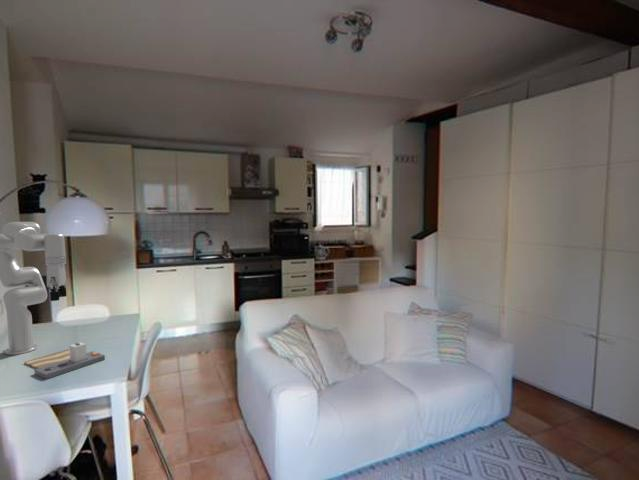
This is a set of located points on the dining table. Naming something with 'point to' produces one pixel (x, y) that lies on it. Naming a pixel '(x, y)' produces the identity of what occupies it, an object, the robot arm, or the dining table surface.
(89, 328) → the dining table surface
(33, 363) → the wooden board
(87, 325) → the dining table surface
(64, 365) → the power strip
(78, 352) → the block
